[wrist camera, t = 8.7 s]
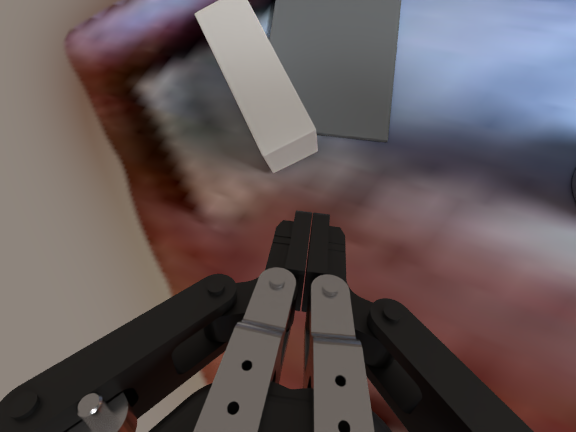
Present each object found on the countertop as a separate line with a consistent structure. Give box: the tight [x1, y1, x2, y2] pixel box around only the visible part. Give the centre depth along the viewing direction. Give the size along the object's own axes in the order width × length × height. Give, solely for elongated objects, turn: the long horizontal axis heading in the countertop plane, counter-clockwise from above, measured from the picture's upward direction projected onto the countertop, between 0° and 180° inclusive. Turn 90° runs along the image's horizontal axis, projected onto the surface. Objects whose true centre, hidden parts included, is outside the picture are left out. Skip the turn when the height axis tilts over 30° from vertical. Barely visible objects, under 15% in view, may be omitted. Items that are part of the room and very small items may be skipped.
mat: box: [269, 0, 401, 142], centre depth 38 cm, size 23×16×1 cm
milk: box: [195, 0, 318, 173], centre depth 35 cm, size 6×6×22 cm
